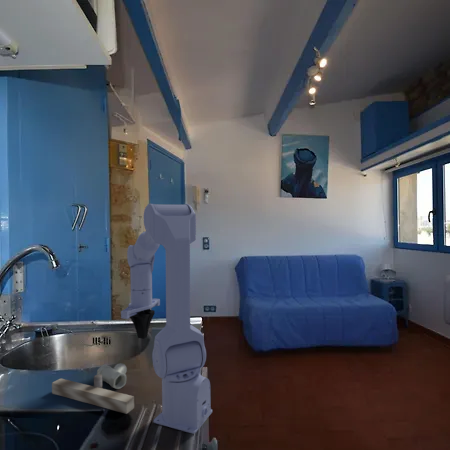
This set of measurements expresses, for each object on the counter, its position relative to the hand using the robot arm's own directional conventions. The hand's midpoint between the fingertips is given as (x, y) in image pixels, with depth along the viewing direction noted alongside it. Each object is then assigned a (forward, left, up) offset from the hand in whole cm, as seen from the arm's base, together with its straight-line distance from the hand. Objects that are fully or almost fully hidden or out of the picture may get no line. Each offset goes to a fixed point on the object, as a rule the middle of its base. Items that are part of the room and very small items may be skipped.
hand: (142, 337), depth 91 cm
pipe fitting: (+1, +9, -8) cm, 12 cm away
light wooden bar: (0, +18, -8) cm, 19 cm away
